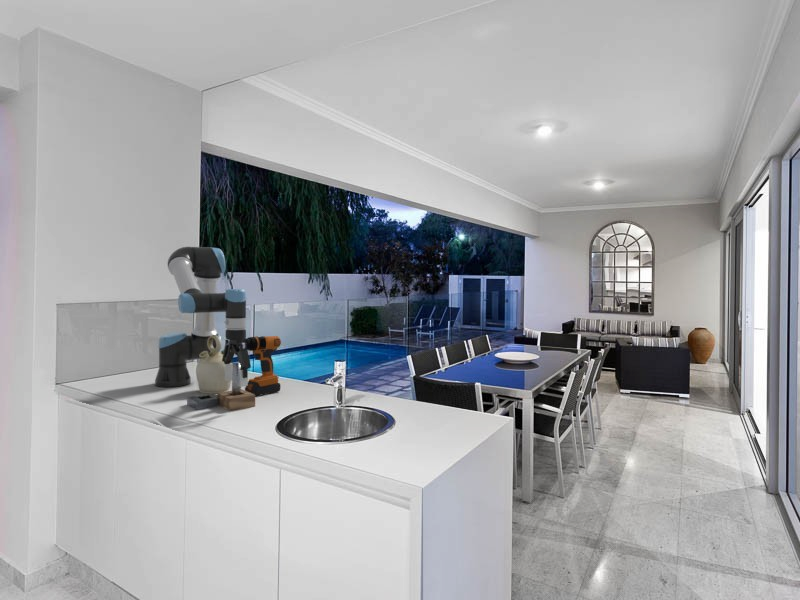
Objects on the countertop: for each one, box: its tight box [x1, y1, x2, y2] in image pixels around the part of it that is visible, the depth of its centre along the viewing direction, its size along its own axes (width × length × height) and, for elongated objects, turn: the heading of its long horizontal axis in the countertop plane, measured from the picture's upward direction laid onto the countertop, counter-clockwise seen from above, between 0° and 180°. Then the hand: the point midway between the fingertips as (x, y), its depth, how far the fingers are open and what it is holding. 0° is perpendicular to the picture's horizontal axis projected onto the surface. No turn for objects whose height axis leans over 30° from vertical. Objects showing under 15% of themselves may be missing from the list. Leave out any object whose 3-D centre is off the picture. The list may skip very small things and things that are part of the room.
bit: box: [231, 361, 242, 396], centre depth 190 cm, size 3×3×16 cm
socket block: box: [186, 393, 221, 411], centre depth 190 cm, size 10×10×4 cm
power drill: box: [242, 335, 282, 397], centre depth 210 cm, size 22×7×25 cm, turn 138°
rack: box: [216, 389, 256, 412], centre depth 190 cm, size 12×10×5 cm
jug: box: [195, 335, 232, 394], centre depth 214 cm, size 15×16×25 cm
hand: (236, 383), depth 190 cm, fingers open, 13 cm apart
